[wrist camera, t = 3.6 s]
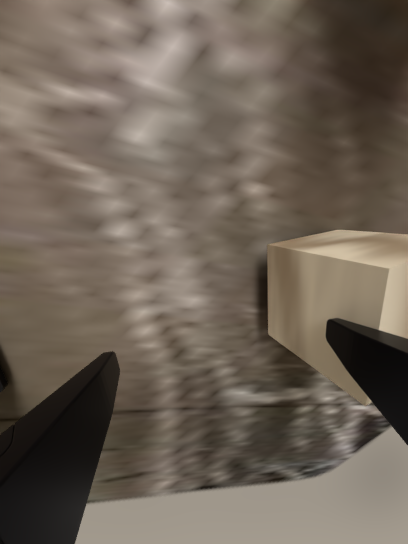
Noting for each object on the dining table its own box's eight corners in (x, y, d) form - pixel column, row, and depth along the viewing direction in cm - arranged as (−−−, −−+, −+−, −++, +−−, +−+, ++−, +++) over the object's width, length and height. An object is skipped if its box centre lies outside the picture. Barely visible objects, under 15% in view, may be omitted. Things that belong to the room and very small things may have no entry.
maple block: (267, 333, 14) (365, 406, 9) (266, 244, 12) (389, 268, 7) (330, 308, 16) (439, 354, 11) (337, 229, 15) (471, 239, 9)
